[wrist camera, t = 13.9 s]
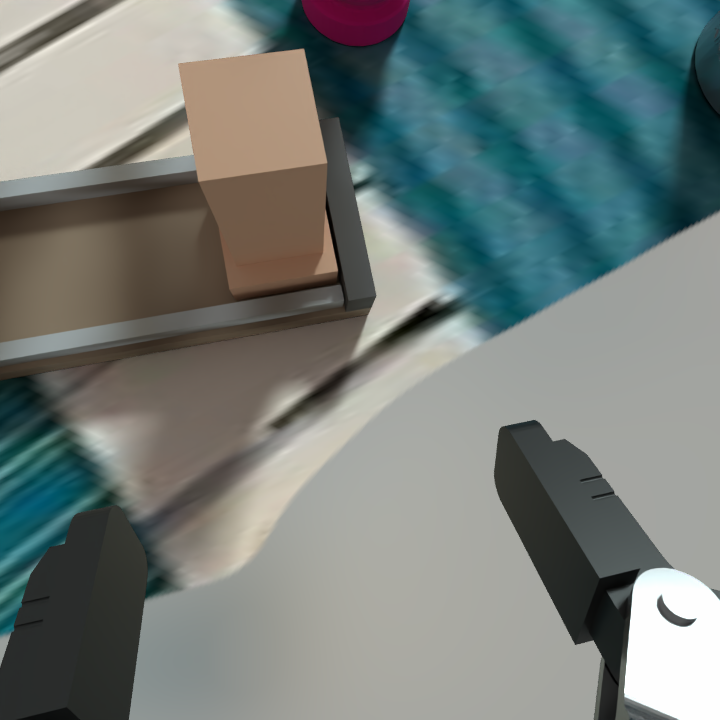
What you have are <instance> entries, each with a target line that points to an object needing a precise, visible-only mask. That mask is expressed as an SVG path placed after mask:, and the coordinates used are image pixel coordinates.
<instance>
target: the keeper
mask: <svg viewBox="0 0 720 720" xmlns="http://www.w3.org/2000/svg"><path fill="white" fill-rule="evenodd" d="M178 65H179V71H180V77H181V83H182V89H183V94H184V100H185V106H186V112H187V118H188V124H189V130H190V135H191V141H192V147H193V153H194V159H195V165H196V171H197V176H198V182H199V184H200V186H201V189H202V191H203V193H204V195H205V197H206V200H207V202H208V204H209V206H210V208H211V211H212V213H213V215H214V217H215V220H216V222H217V224H218V227H219V233H220V238H221V244H222V250H223V256H224V261H225V267H226V273H227V279H228V284H229V290H230V291H231V293H232V295H233V297H234V298H235V300H236V301H237V300H243V299H249V298H254V297H260V296H266V295H272V294H278V293H284V292H290V291H295V290H301V289H307V288H313V287H319V286H325V285H331V284H336V282H337V274H338V269H337V264H336V259H335V254H334V249H333V244H332V239H331V234H330V229H329V224H328V219H327V214H326V209H325V204H326V183H327V158H326V154H325V149H324V144H323V139H322V134H321V129H320V124H319V120H318V115H317V110H316V105H315V100H314V95H313V90H312V85H311V81H310V76H309V71H308V66H307V61H306V56H305V51H304V49H297V50H289V51H280V52H272V53H264V54H255V55H247V56H238V57H230V58H222V59H213V60H205V61H196V62H188V63H180V64H178Z"/></svg>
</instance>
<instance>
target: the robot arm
mask: <svg viewBox="0 0 720 720" xmlns="http://www.w3.org/2000/svg"><path fill="white" fill-rule="evenodd" d="M695 68H696V73H697V77H698V81H699V84H700V86H701V88H702V91H703V93H704V95H705V97H706V98H707V100H708V101H709V103H710V104H711V106H712V107H713V108H714V109H715V110H716V112H717V113H718V114H719V115H720V11H719V12H718V13H717V14H716V15H715V16H714V17H713V18H712V19H711V20H710V22H709V23H708V24H707V25H706V26H705V27H704V29H703V31H702V33H701V35H700V37H699V39H698V43H697V47H696V51H695ZM494 479H495V485H496V489H497V492H498V495H499V498H500V500H501V502H502V504H503V506H504V508H505V510H506V512H507V514H508V516H509V518H510V520H511V522H512V523H513V525H514V527H515V529H516V531H517V533H518V535H519V537H520V539H521V541H522V543H523V545H524V547H525V549H526V551H527V552H528V554H529V556H530V558H531V560H532V562H533V564H534V566H535V568H536V570H537V572H538V574H539V576H540V578H541V580H542V581H543V583H544V585H545V587H546V589H547V591H548V593H549V595H550V597H551V599H552V601H553V603H554V605H555V607H556V609H557V610H558V612H559V614H560V616H561V618H562V620H563V622H564V624H565V626H566V628H567V630H568V632H569V634H570V636H571V637H572V640H573V641H574V643H575V645H576V644H581V643H585V642H588V641H592V640H594V642H595V644H596V646H597V648H598V649H599V651H600V653H601V655H602V658H601V663H600V672H599V680H598V689H597V696H596V706H595V714H594V720H720V591H717V590H714V589H710V588H708V587H707V586H706V585H705V584H703V583H702V582H701V581H699V580H697V579H696V578H694V577H692V576H691V575H688V574H687V573H684V572H681V571H678V570H675V569H674V568H673V567H672V566H671V565H670V564H669V563H668V562H667V561H666V560H665V559H664V557H663V556H662V555H661V553H660V552H659V551H658V549H657V548H656V547H655V545H654V544H653V543H652V541H651V540H650V539H649V537H648V536H647V535H646V534H645V532H644V531H643V529H642V528H641V527H640V525H639V524H638V522H637V521H636V520H635V518H634V517H633V516H632V514H631V513H630V512H629V510H628V509H627V508H626V506H625V505H624V504H623V503H622V501H621V500H620V498H619V497H618V496H616V495H615V494H614V490H613V489H612V488H611V486H610V485H609V484H608V482H607V481H606V480H605V479H603V478H602V474H601V473H600V472H599V470H598V469H597V467H596V466H595V465H594V463H593V462H592V461H591V459H590V458H589V457H588V455H587V454H585V453H584V452H582V451H581V450H580V449H578V448H577V447H575V446H574V445H573V444H571V443H570V442H568V441H567V440H565V439H563V440H559V441H554V442H553V441H552V440H551V438H550V437H549V435H548V434H547V432H546V431H545V430H544V428H543V427H542V425H541V424H540V423H539V422H537V421H536V420H532V421H527V422H523V423H517V424H513V425H508V426H503V427H501V428H500V430H499V435H498V443H497V453H496V461H495V469H494ZM147 576H148V567H147V559H146V554H145V551H144V548H143V546H142V544H141V543H140V541H139V539H138V537H137V535H136V534H135V532H134V530H133V528H132V527H131V525H130V523H129V521H128V520H127V518H126V516H125V514H124V513H123V511H122V509H121V508H120V507H119V506H117V505H115V506H110V507H105V508H100V509H95V510H91V511H86V512H81V513H77V514H76V515H75V516H74V517H73V519H72V521H71V524H70V527H69V530H68V534H67V538H66V541H65V544H63V545H58V546H53V547H50V548H49V549H48V551H47V552H46V553H45V555H44V556H43V558H42V559H41V560H40V562H39V563H38V565H37V566H36V567H35V569H34V570H33V572H32V573H31V575H30V578H29V581H28V584H27V587H26V590H25V593H24V596H23V599H22V602H21V603H22V608H19V611H18V614H17V618H16V621H15V624H14V632H12V633H11V636H10V639H9V642H8V645H7V648H6V651H5V654H4V657H3V660H2V664H1V667H0V720H129V714H130V706H131V698H132V691H133V683H134V676H135V668H136V661H137V653H138V645H139V638H140V630H141V623H142V615H143V608H144V600H145V592H146V585H147Z"/></svg>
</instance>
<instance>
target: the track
mask: <svg viewBox="0 0 720 720" xmlns="http://www.w3.org/2000/svg"><path fill="white" fill-rule="evenodd" d="M319 124H320V129H321V134H322V139H323V144H324V149H325V154H326V158H327V183H326V204H325V209H326V214H327V219H328V224H329V229H330V234H331V239H332V244H333V249H334V254H335V259H336V264H337V269H338V274H337V282H336V284H331V285H325V286H319V287H313V288H307V289H301V290H295V291H290V292H284V293H278V294H272V295H266V296H260V297H254V298H249V299H243V300H237V301H236V300H235V298H234V297H233V295H232V293H231V291H230V290H229V284H228V279H227V273H226V267H225V261H224V256H223V250H222V244H221V238H220V233H219V227H218V224H217V222H216V220H215V217H214V215H213V213H212V211H211V208H210V206H209V204H208V202H207V200H206V197H205V195H204V193H203V191H202V189H201V186H200V184H199V182H198V176H197V171H196V165H195V159H194V155H190V156H182V157H175V158H168V159H161V160H153V161H146V162H139V163H132V164H125V165H117V166H110V167H103V168H96V169H88V170H81V171H74V172H67V173H60V174H52V175H45V176H38V177H31V178H24V179H16V180H9V181H2V182H0V380H5V379H11V378H16V377H22V376H28V375H33V374H39V373H44V372H50V371H56V370H61V369H67V368H72V367H78V366H84V365H89V364H95V363H100V362H106V361H111V360H117V359H123V358H128V357H134V356H139V355H145V354H151V353H156V352H162V351H167V350H173V349H179V348H184V347H190V346H195V345H201V344H207V343H212V342H218V341H223V340H229V339H234V338H240V337H246V336H251V335H257V334H262V333H268V332H274V331H279V330H285V329H290V328H296V327H302V326H307V325H313V324H318V323H324V322H330V321H335V320H341V319H346V318H352V317H358V316H363V315H368V314H369V312H370V309H371V307H372V305H373V302H374V300H375V298H376V292H375V287H374V282H373V278H372V273H371V268H370V263H369V259H368V254H367V249H366V245H365V240H364V235H363V230H362V226H361V221H360V216H359V211H358V207H357V202H356V197H355V192H354V188H353V183H352V178H351V173H350V169H349V164H348V159H347V154H346V150H345V145H344V140H343V136H342V131H341V126H340V121H339V117H337V118H329V119H322V120H319Z"/></svg>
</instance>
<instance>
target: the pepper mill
mask: <svg viewBox="0 0 720 720" xmlns="http://www.w3.org/2000/svg"><path fill="white" fill-rule="evenodd" d="M409 2H410V0H302V5H303V9H304V12H305V14H306V16H307V18H308V19H309V21H310V22H311V23H312V25H313V26H314V27H315V28H316V29H317V30H318V31H319V32H320V33H322V34H323V35H325V36H326V37H328V38H329V39H331V40H332V41H335V42H338V43H341V44H345V45H348V46H367V45H372V44H377V43H379V42H381V41H383V40H385V39H387V38H389V37H390V36H391V35H392V34H394V33H395V32H396V31H397V30H398V29H399V27H400V26H401V25H402V23H403V21H404V19H405V17H406V15H407V11H408V7H409Z"/></svg>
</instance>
